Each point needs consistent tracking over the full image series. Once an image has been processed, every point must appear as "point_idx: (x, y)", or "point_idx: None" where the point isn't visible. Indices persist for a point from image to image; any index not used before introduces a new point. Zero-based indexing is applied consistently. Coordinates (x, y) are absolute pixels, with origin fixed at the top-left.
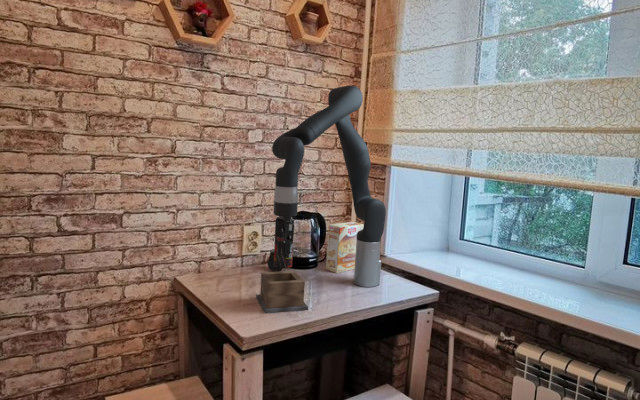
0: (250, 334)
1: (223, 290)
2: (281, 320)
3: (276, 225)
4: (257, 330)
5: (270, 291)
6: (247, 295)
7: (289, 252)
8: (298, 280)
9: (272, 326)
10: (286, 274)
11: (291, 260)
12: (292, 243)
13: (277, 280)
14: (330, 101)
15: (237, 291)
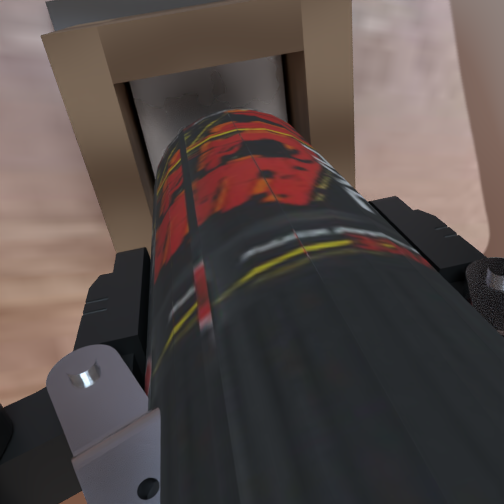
0: (488, 239)
1: (48, 368)
2: (408, 126)
3: None
4: (467, 219)
5: None
6: (101, 273)
7: (400, 207)
8: (314, 37)
9: (453, 166)
10: (123, 118)
11: (299, 137)
12: (371, 213)
13: (145, 171)
14: None
15: (50, 317)
